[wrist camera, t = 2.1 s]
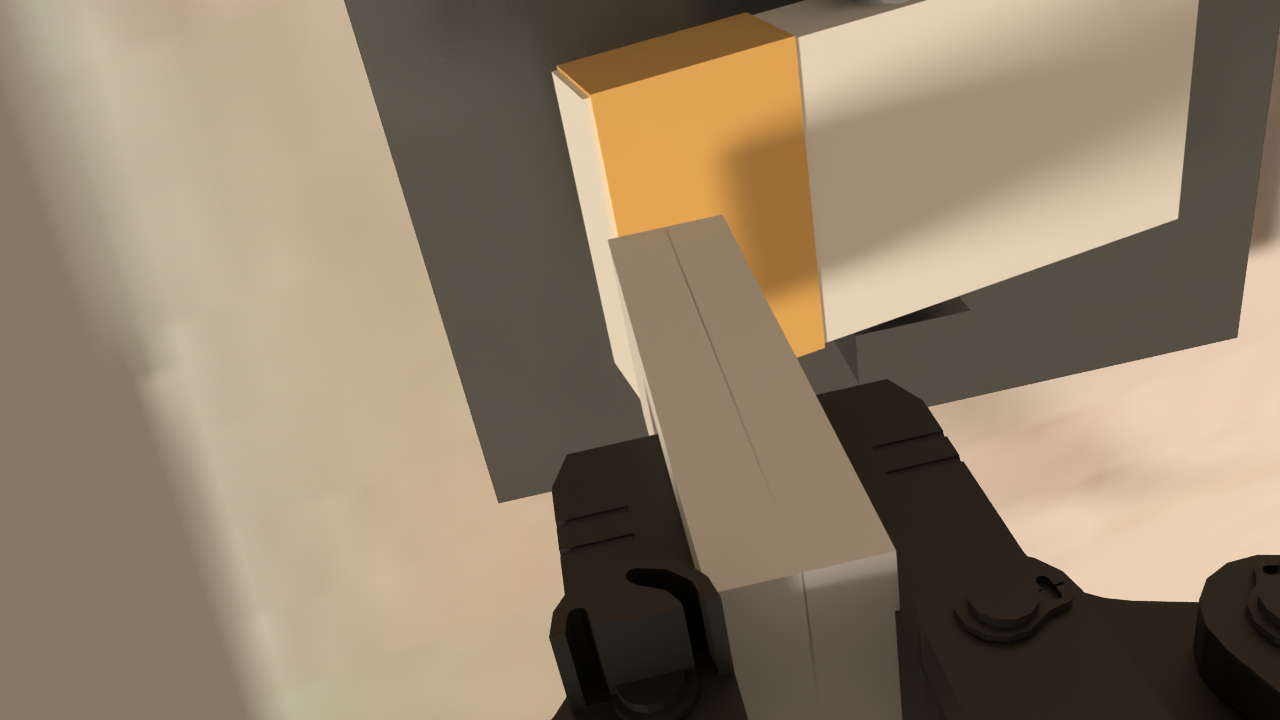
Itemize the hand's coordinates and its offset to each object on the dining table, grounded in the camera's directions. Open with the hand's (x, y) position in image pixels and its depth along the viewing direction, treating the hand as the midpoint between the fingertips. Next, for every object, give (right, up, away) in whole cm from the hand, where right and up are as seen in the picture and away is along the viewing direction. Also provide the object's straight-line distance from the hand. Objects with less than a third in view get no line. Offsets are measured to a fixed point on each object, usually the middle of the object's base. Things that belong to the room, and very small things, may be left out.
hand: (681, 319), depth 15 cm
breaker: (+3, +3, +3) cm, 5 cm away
